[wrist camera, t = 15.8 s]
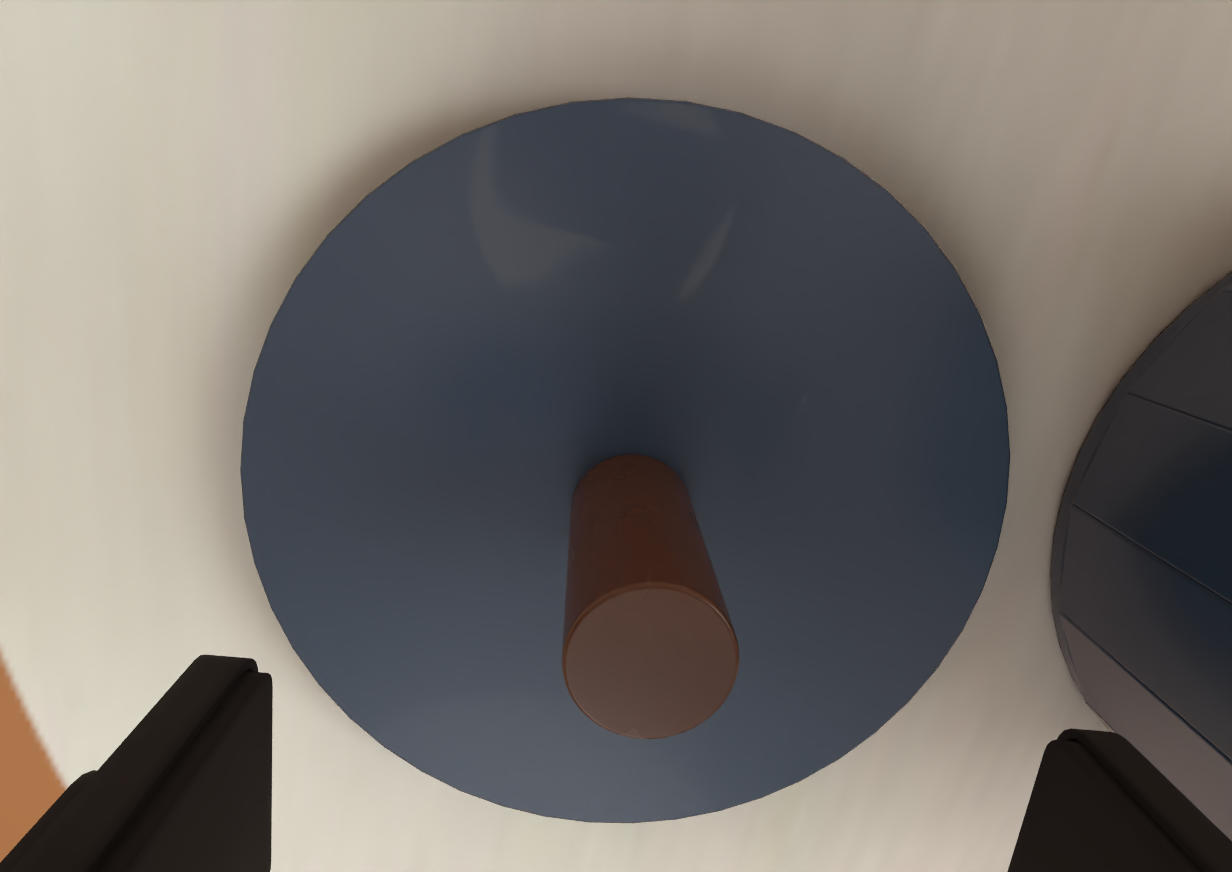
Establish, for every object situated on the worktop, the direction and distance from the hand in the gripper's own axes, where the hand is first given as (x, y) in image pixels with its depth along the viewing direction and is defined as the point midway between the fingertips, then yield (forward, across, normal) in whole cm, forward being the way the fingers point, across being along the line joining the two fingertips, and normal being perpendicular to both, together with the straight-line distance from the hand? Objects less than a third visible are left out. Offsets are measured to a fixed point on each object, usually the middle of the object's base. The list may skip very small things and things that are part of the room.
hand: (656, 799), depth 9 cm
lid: (+9, 0, 0) cm, 9 cm away
